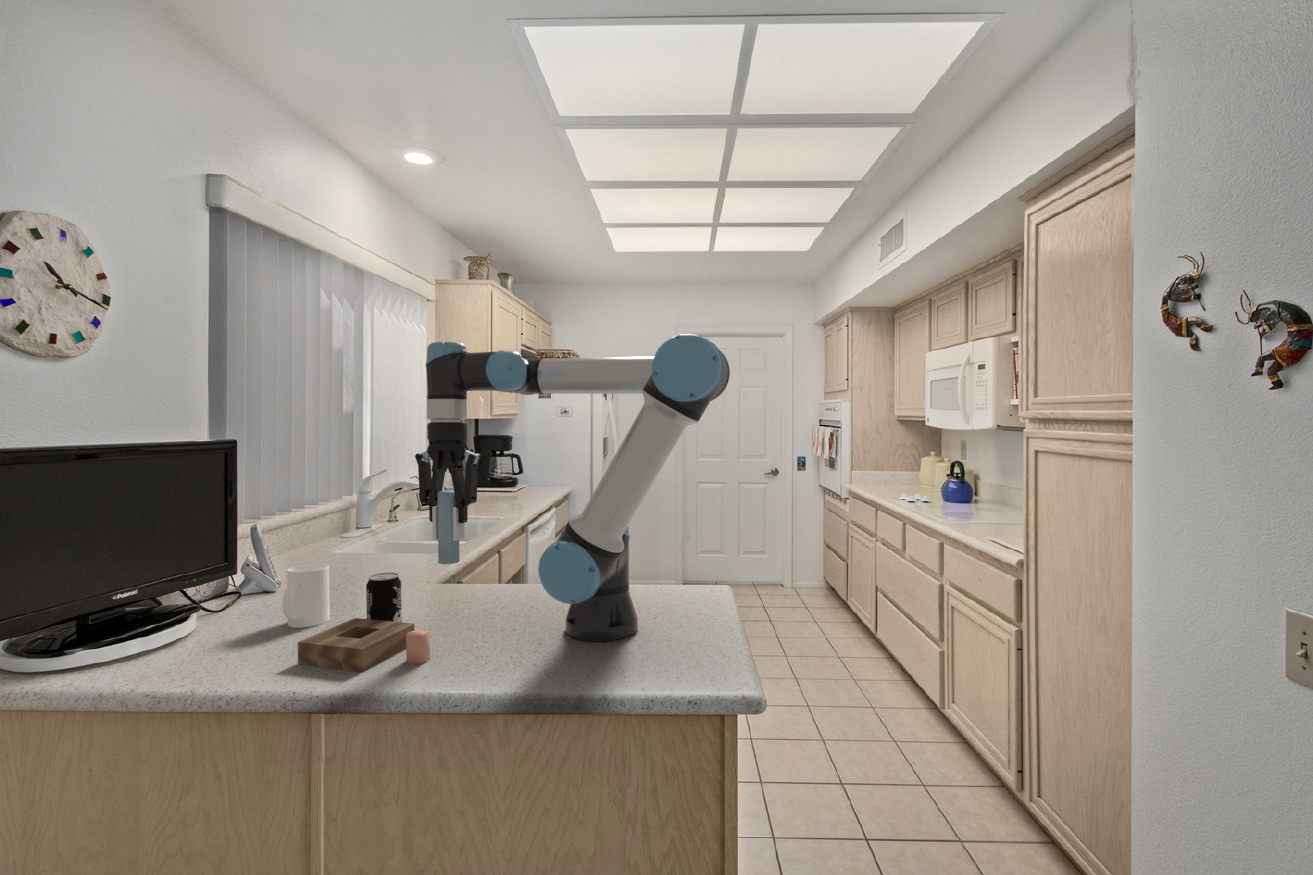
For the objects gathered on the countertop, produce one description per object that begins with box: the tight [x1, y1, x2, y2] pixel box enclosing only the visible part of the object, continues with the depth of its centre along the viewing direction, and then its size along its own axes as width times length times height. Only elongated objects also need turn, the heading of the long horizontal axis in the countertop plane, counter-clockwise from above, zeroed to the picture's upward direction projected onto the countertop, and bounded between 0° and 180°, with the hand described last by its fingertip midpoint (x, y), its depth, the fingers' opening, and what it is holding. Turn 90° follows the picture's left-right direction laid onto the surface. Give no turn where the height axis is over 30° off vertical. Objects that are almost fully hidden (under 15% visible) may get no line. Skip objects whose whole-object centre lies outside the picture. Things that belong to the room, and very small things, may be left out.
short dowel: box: [405, 629, 431, 666], centre depth 111 cm, size 4×4×5 cm
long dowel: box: [437, 490, 461, 565], centre depth 120 cm, size 4×4×14 cm
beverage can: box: [365, 572, 403, 622], centre depth 125 cm, size 7×7×12 cm
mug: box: [281, 563, 331, 629], centre depth 130 cm, size 8×12×12 cm
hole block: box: [297, 617, 415, 673], centre depth 114 cm, size 14×14×4 cm
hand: (448, 538), depth 120 cm, fingers closed on long dowel, 4 cm apart
